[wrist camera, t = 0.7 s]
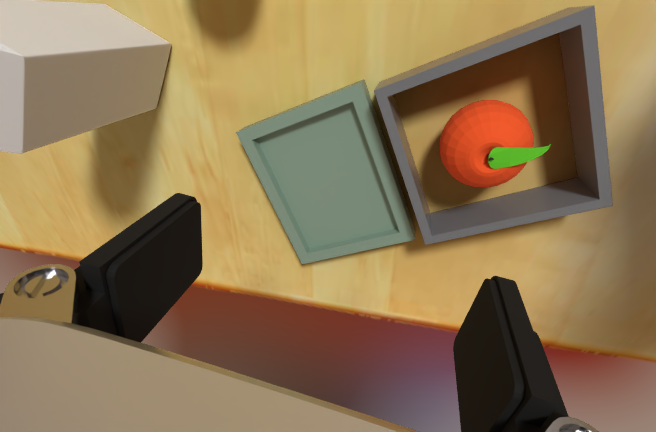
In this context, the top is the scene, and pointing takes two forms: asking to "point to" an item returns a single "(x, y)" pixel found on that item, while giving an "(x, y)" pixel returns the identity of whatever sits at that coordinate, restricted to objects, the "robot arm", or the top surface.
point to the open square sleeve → (585, 125)
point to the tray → (330, 175)
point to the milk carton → (72, 70)
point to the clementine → (487, 143)
